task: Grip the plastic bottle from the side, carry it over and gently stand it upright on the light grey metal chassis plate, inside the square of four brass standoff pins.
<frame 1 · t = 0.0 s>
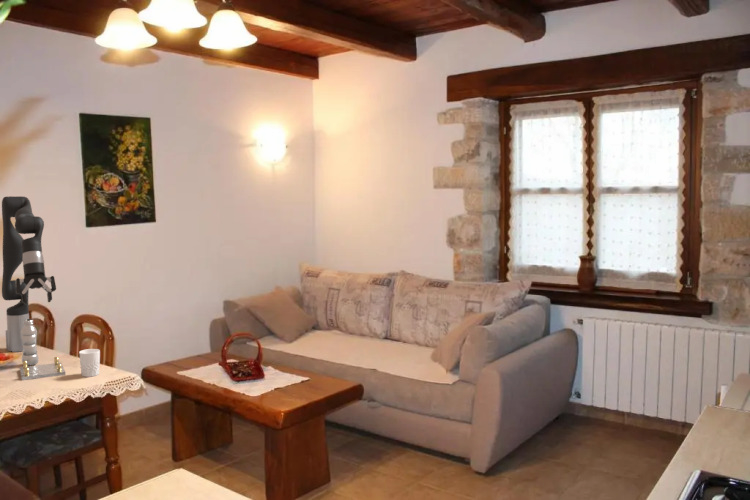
hand: (37, 302, 262), 31 cm above the table, tool tilted 20°, fingers open, 8 cm apart
chassis plate: (42, 372, 275), on the table
white cup: (90, 375, 273), on the table
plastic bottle: (30, 365, 286), on the table
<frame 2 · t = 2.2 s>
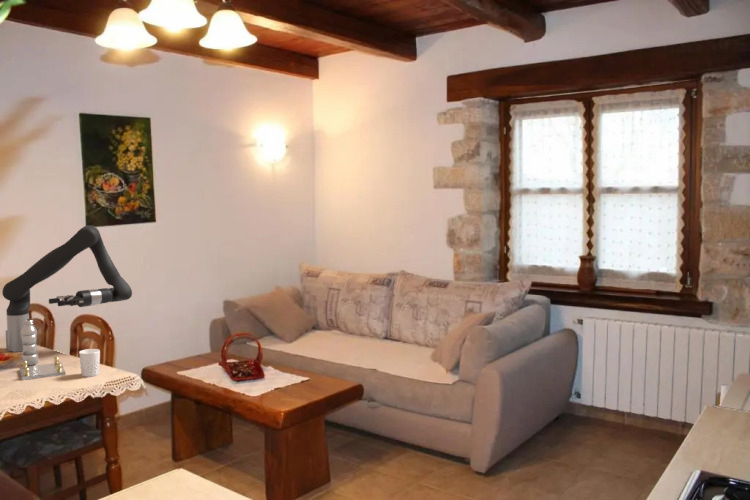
hand: (53, 302, 291), 26 cm above the table, tool horizontal, fingers open, 8 cm apart
nothing on the table moved.
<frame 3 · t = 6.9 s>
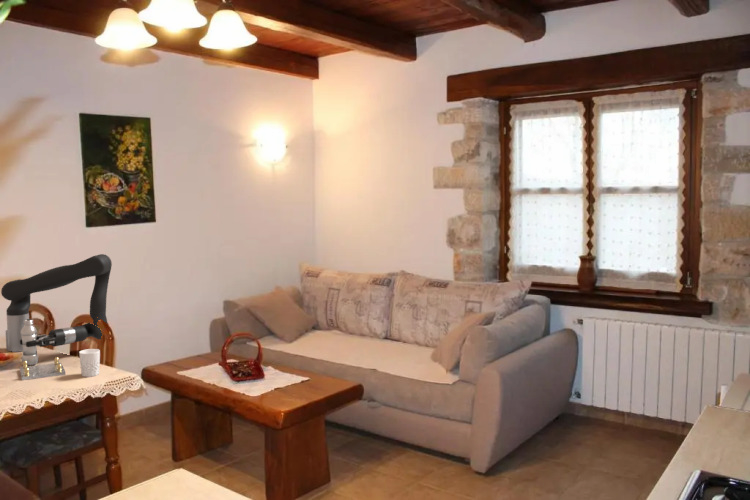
hand: (23, 343, 283), 10 cm above the table, tool horizontal, fingers closed on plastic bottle, 5 cm apart
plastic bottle: (30, 365, 286), on the table, touching gripper
everything else where it was.
when the fingers open (11 cm above the table, at t = 14.7 s): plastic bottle moves 1 cm, resting on chassis plate.
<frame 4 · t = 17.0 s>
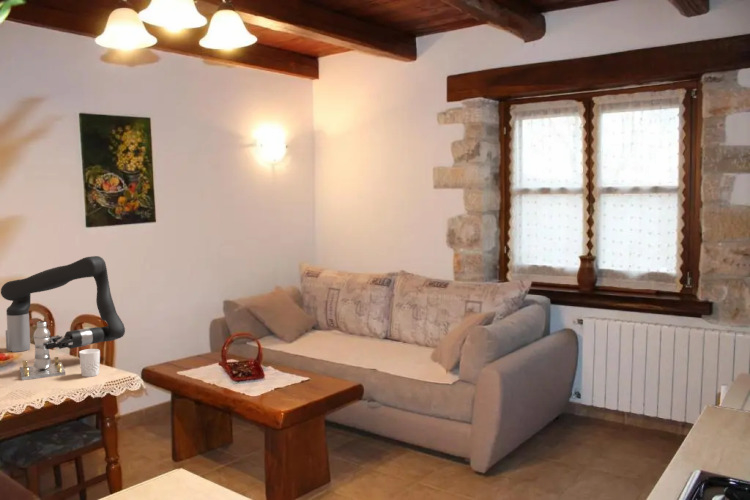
hand: (40, 345, 273), 12 cm above the table, tool horizontal, fingers open, 8 cm apart
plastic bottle: (42, 369, 276), point 1 cm above the table, touching chassis plate
everything else where it was.
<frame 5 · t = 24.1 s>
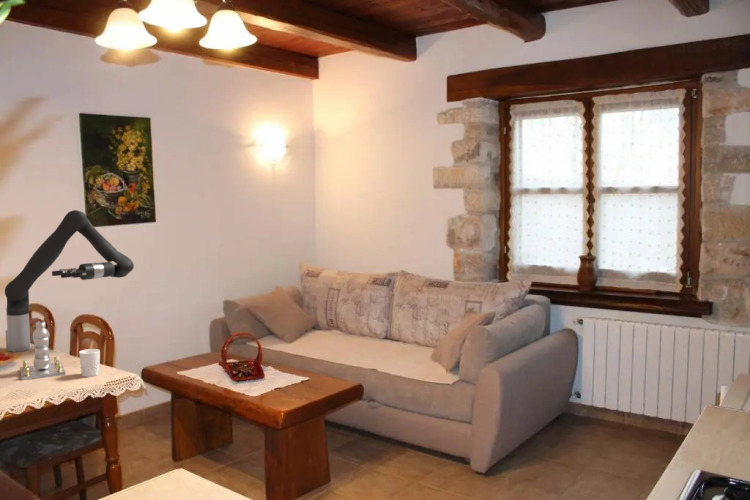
hand: (56, 274, 295), 38 cm above the table, tool horizontal, fingers open, 8 cm apart
nothing on the table moved.
at the end: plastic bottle 1.1 cm off-centre on the chassis plate, point 1.0 cm above the chassis plate's base; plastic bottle tilted 0°; the gripper is holding nothing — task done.
